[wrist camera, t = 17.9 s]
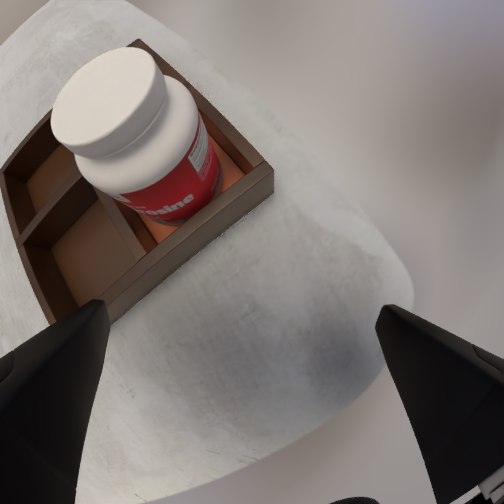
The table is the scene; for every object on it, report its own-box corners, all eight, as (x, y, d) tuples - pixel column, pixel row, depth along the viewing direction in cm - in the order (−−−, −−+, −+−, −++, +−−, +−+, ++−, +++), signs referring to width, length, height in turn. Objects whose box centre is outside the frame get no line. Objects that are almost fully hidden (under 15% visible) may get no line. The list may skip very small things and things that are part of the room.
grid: (274, 192, 19) (274, 169, 15) (93, 340, 19) (62, 348, 15) (153, 64, 21) (138, 37, 17) (23, 184, 21) (-3, 172, 17)
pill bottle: (132, 223, 19) (18, 168, 8) (151, 144, 20) (72, 50, 9) (217, 232, 18) (145, 163, 7) (231, 146, 19) (194, 25, 8)
